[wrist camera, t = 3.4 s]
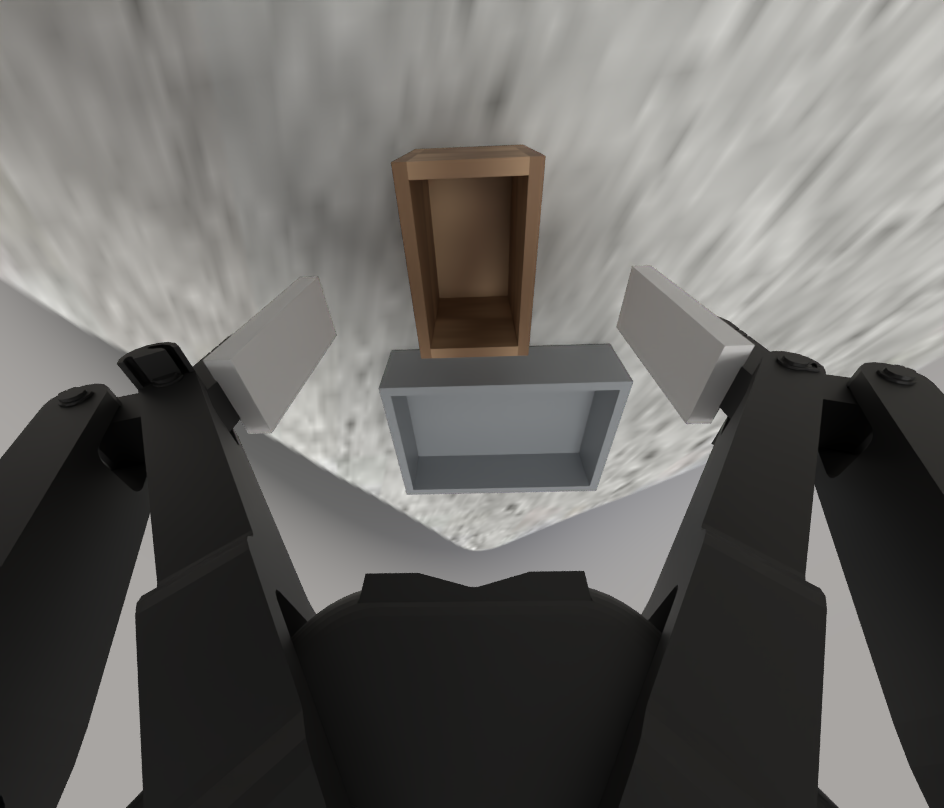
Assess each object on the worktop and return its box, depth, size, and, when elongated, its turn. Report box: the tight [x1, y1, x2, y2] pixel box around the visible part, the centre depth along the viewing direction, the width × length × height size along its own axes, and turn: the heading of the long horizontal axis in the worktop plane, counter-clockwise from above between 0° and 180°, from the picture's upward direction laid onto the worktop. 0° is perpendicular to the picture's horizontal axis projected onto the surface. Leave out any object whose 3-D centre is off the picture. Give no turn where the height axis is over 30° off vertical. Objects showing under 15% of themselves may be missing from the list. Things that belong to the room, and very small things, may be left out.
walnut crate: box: [391, 145, 546, 359], centre depth 19 cm, size 6×9×8 cm, turn 2°
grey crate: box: [379, 344, 633, 495], centre depth 29 cm, size 17×12×5 cm
